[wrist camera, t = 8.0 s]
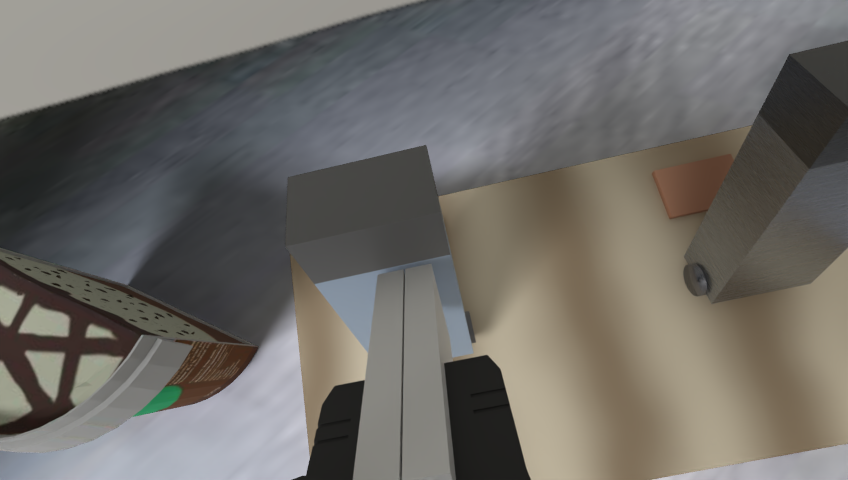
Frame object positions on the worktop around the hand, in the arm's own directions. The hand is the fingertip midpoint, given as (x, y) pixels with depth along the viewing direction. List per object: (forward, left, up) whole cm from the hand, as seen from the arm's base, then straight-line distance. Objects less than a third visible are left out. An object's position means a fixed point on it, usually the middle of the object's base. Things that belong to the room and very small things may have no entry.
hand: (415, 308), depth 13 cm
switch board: (+6, 0, -11) cm, 13 cm away
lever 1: (-1, 0, -8) cm, 8 cm away
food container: (-16, +2, -11) cm, 19 cm away
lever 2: (+13, 0, -8) cm, 16 cm away
